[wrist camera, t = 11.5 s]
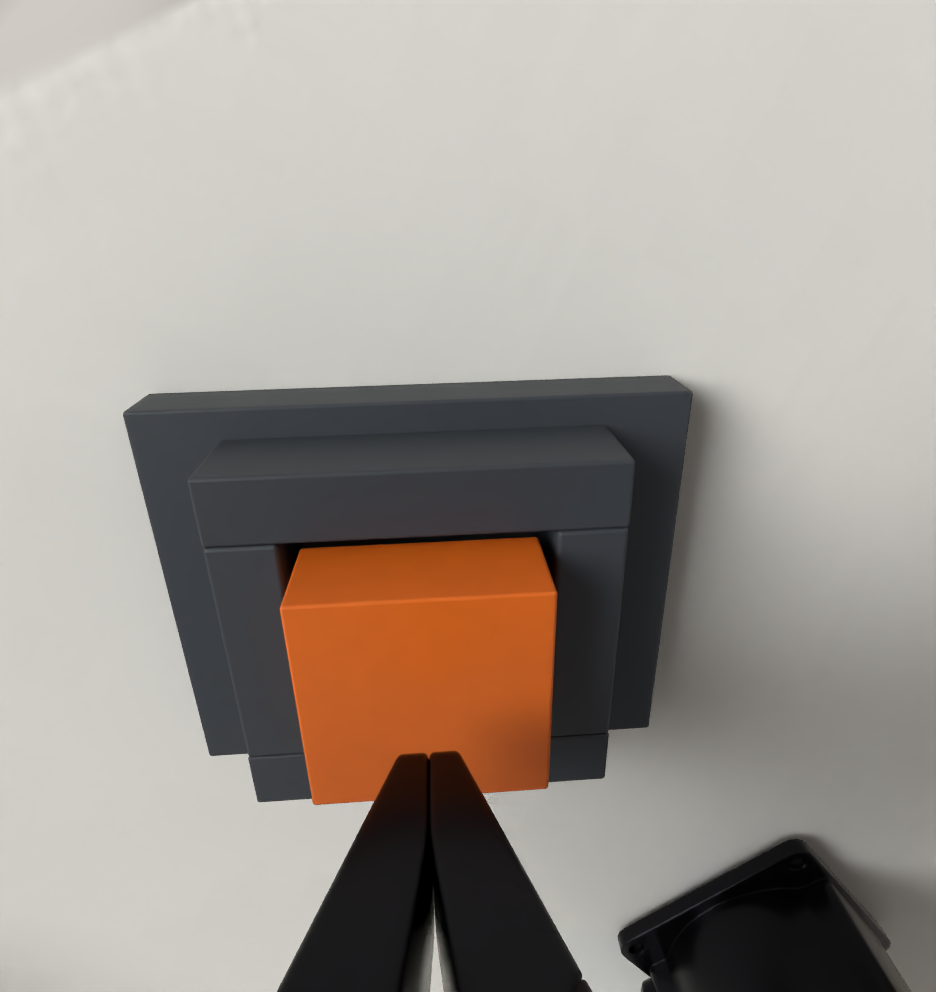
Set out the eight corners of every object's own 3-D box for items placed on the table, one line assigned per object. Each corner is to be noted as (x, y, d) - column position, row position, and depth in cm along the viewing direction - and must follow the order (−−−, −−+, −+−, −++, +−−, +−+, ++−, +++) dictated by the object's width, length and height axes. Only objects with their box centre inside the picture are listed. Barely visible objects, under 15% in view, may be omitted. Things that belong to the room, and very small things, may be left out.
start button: (538, 535, 11) (558, 592, 9) (532, 715, 13) (548, 790, 11) (299, 547, 11) (278, 607, 9) (326, 728, 12) (312, 806, 11)
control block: (670, 374, 13) (739, 423, 10) (633, 692, 16) (677, 793, 13) (147, 393, 12) (68, 449, 9) (223, 717, 15) (182, 828, 13)
